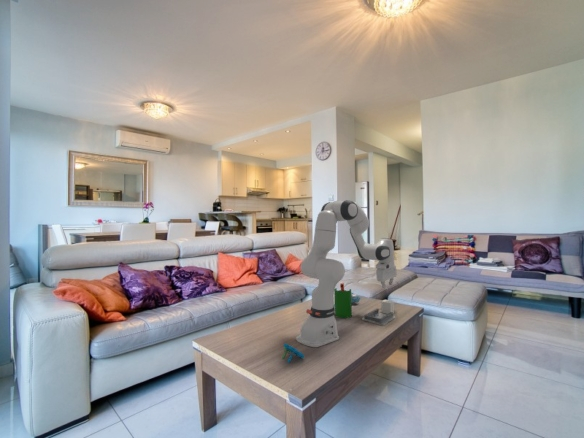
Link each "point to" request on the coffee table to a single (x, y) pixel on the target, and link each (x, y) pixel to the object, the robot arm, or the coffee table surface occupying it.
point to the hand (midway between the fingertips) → (387, 286)
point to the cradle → (378, 317)
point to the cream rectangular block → (387, 306)
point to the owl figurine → (353, 298)
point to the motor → (343, 302)
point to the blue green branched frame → (292, 350)
